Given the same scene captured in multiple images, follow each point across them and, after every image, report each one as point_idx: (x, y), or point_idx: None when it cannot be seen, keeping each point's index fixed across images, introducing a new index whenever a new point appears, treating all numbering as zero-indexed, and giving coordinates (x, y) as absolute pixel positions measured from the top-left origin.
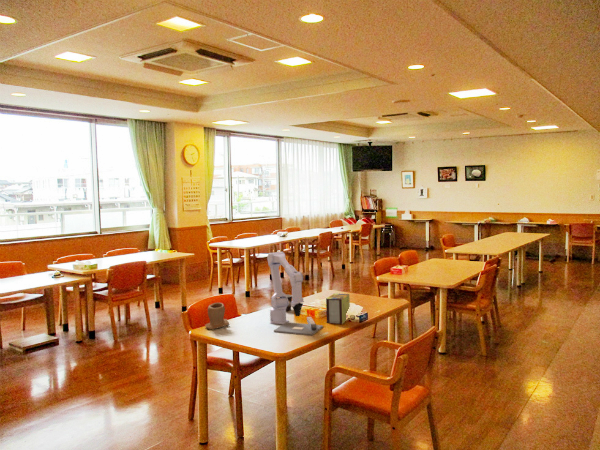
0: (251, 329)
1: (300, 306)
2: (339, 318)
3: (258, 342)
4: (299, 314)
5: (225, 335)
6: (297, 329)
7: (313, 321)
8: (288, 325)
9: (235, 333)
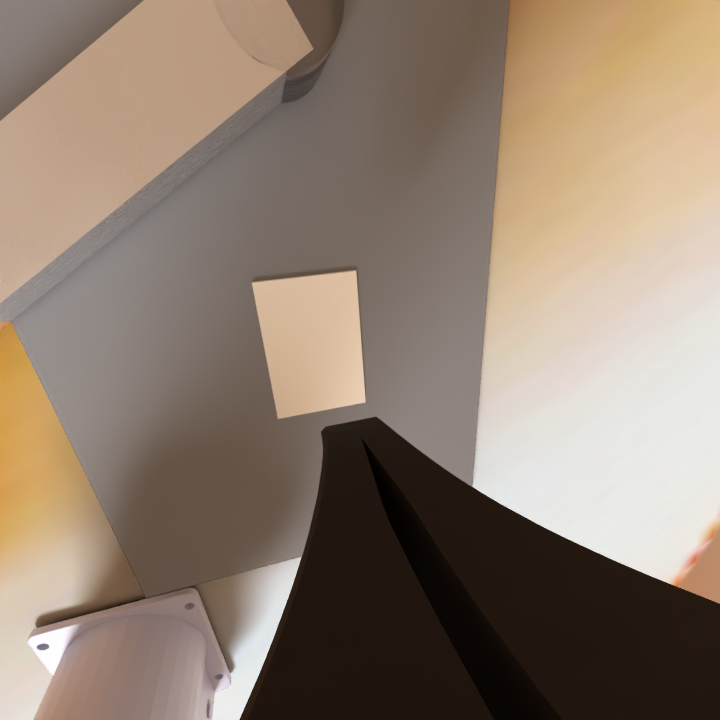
0: None
1: (717, 710)
2: None
3: (713, 429)
4: (364, 436)
5: None
6: (364, 325)
7: (46, 109)
8: (253, 508)
9: None
